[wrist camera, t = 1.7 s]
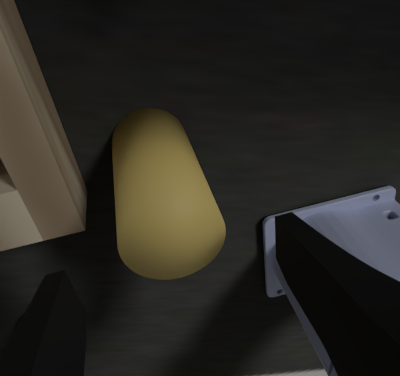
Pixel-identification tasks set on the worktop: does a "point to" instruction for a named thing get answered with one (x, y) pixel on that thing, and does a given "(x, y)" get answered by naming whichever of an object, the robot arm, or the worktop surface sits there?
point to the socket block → (32, 148)
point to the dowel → (162, 198)
